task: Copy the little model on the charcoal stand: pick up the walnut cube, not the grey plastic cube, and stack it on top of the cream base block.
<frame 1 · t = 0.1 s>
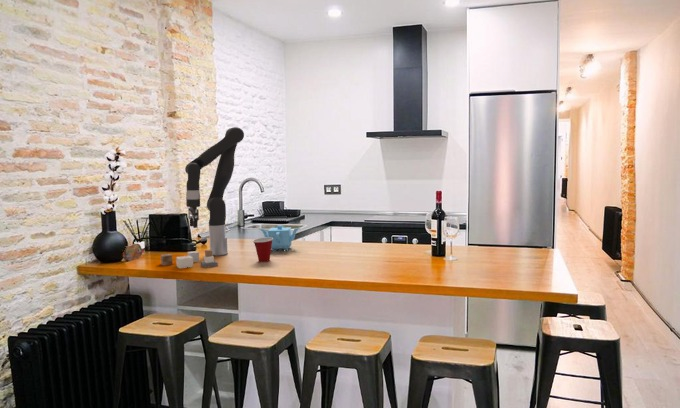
hand: (193, 227, 288), 17 cm above the breakfast bar, tool pointing down, fingers open, 8 cm apart
base block: (185, 266, 264), on the breakfast bar
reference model: (209, 265, 264), on the breakfast bar
walnut cube: (166, 264, 271), on the breakfast bar
plastic cup: (263, 261, 273), on the breakfast bar
teakettle: (280, 249, 307), on the breakfast bar
grey cube: (193, 261, 277), on the breakfast bar
stone slab: (132, 259, 288), on the breakfast bar
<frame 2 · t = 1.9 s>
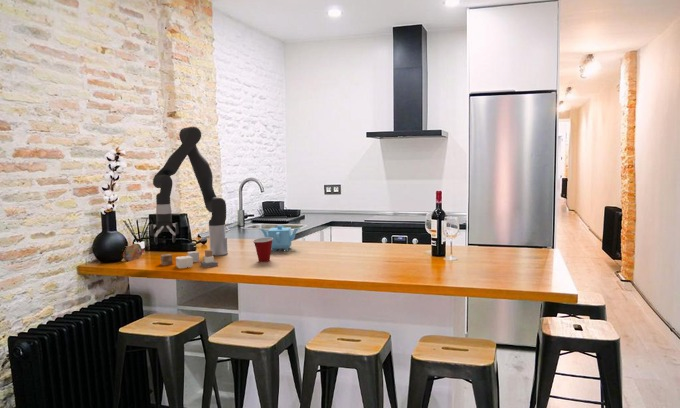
hand: (165, 243, 270), 11 cm above the breakfast bar, tool pointing down, fingers open, 8 cm apart
nothing on the breakfast bar moved.
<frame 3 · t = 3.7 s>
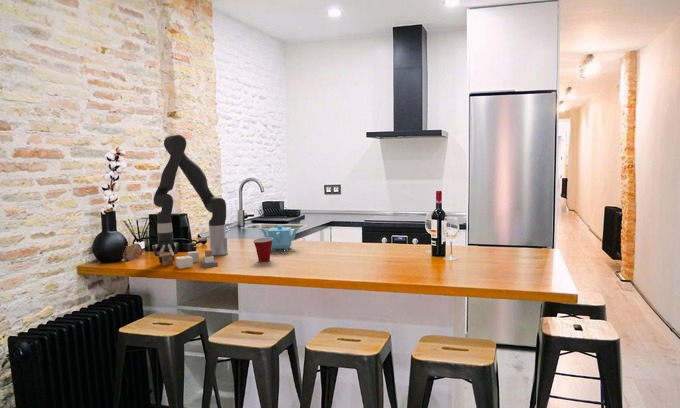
hand: (166, 262, 271), 1 cm above the breakfast bar, tool pointing down, fingers closed on walnut cube, 5 cm apart
walnut cube: (166, 264, 271), on the breakfast bar, touching gripper
everything else where it was.
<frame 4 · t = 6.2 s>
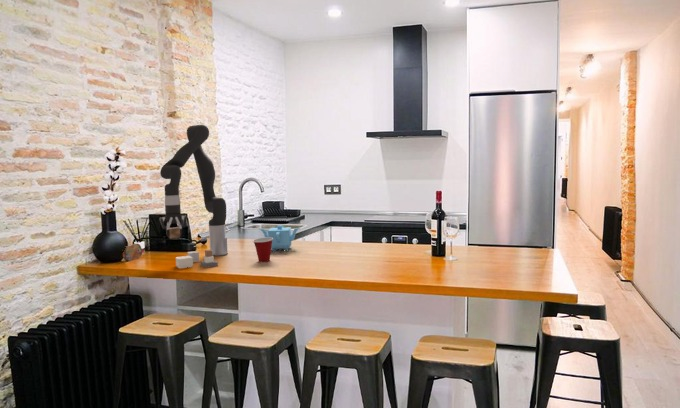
hand: (174, 236, 266), 15 cm above the breakfast bar, tool pointing down, fingers closed on walnut cube, 5 cm apart
walnut cube: (174, 237, 266), point 15 cm above the breakfast bar, touching gripper
everything else where it was.
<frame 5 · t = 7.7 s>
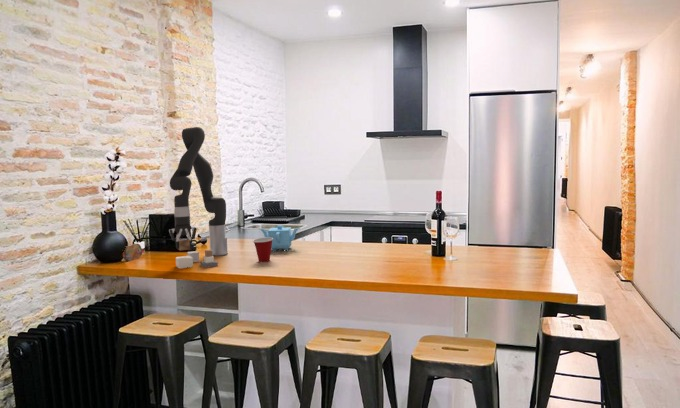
hand: (183, 248, 263), 10 cm above the breakfast bar, tool pointing down, fingers closed on walnut cube, 5 cm apart
walnut cube: (183, 249, 263), point 9 cm above the breakfast bar, touching gripper
everything else where it was.
when the fingers open (7 cm above the breakfast bar, at t = 9.0 s): walnut cube drops 2 cm, point 5 cm above the breakfast bar.
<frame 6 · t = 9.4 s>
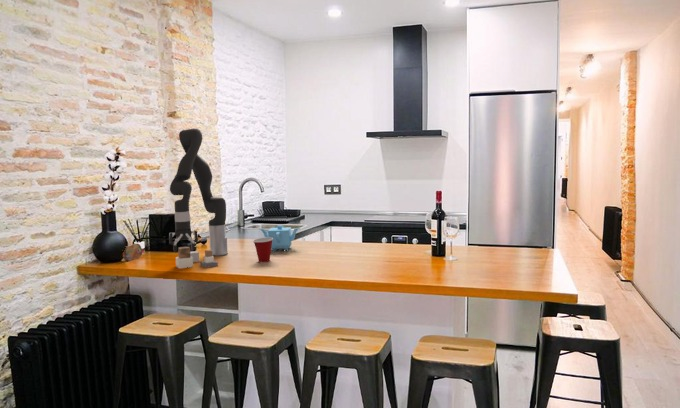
hand: (184, 251, 263), 8 cm above the breakfast bar, tool pointing down, fingers open, 8 cm apart
walnut cube: (184, 257, 263), point 5 cm above the breakfast bar
everything else where it was.
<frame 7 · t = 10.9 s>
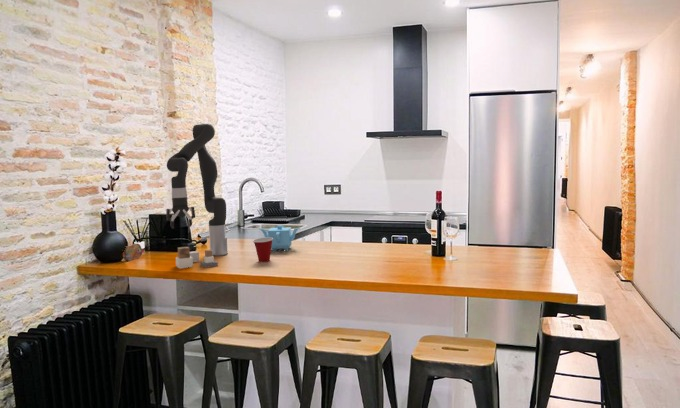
hand: (181, 227, 265), 20 cm above the breakfast bar, tool pointing down, fingers open, 8 cm apart
base block: (184, 266, 263), on the breakfast bar, touching walnut cube
walnut cube: (183, 257, 263), point 5 cm above the breakfast bar, touching base block
everything else where it was.
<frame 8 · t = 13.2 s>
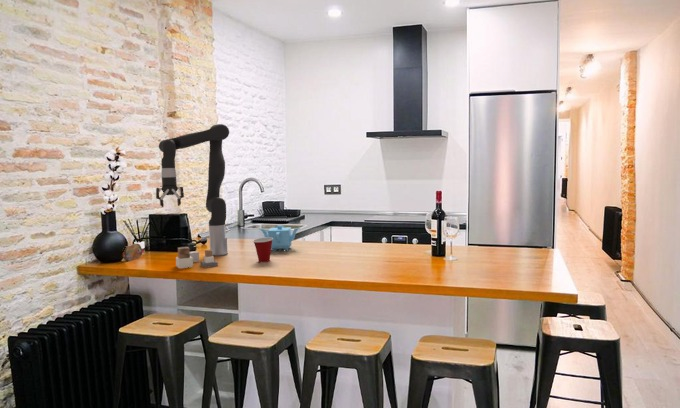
hand: (170, 206, 278), 30 cm above the breakfast bar, tool pointing down, fingers open, 8 cm apart
base block: (184, 267, 263), on the breakfast bar
walnut cube: (184, 257, 263), point 5 cm above the breakfast bar
everything else where it was.
at the end: walnut cube 0.1 cm off-centre on the base block, point 5.0 cm above the base block's base; walnut cube tilted 0°; the gripper is holding nothing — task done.
